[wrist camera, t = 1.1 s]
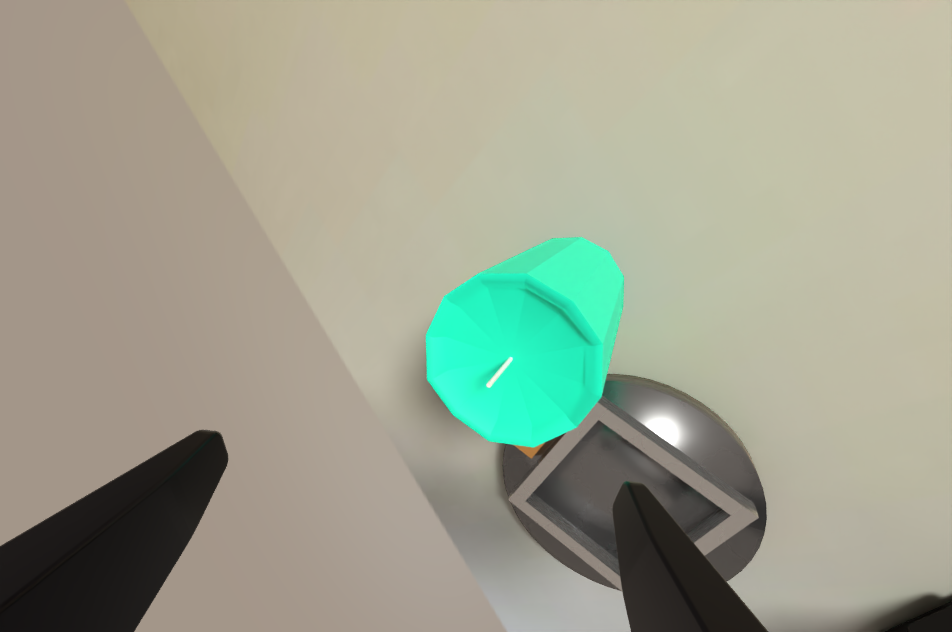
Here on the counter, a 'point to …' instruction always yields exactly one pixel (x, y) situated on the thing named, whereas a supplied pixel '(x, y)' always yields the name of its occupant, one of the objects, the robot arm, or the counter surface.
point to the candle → (528, 342)
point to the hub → (639, 479)
